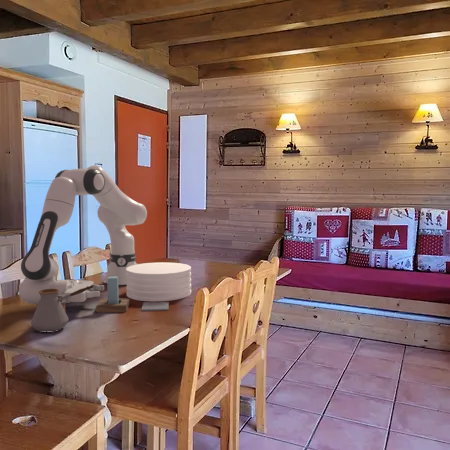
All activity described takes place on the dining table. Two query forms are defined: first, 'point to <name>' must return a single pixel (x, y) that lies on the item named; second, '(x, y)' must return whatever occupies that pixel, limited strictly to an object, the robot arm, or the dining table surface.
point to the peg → (113, 290)
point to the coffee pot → (52, 310)
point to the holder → (113, 305)
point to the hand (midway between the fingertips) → (101, 290)
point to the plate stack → (158, 281)
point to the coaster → (155, 306)
